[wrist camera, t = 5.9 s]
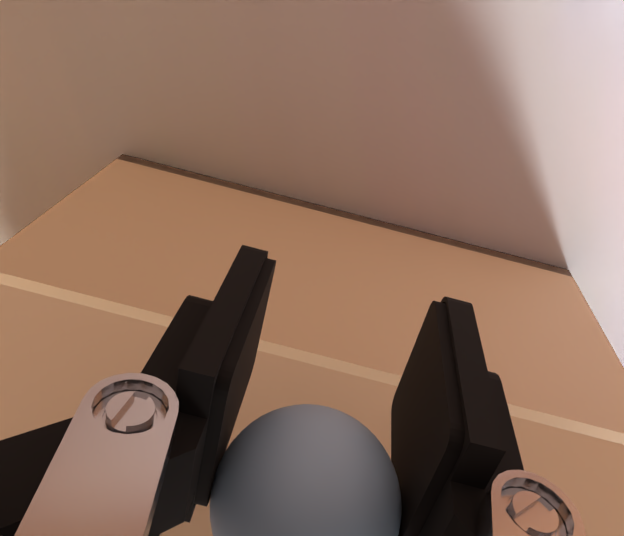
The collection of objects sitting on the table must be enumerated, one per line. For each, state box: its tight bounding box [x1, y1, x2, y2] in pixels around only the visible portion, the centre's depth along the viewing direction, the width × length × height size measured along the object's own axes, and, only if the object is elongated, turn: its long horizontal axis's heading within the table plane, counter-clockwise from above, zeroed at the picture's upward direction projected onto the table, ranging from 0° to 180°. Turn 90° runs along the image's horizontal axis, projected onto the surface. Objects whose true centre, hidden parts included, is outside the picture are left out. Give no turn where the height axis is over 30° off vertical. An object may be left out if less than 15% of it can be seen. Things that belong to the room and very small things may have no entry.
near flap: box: [0, 284, 624, 536], centre depth 11 cm, size 19×6×6 cm
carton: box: [0, 154, 624, 445], centre depth 23 cm, size 20×13×11 cm, turn 78°
